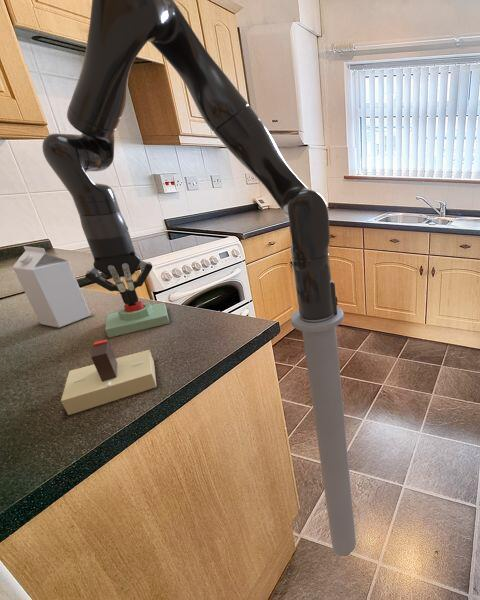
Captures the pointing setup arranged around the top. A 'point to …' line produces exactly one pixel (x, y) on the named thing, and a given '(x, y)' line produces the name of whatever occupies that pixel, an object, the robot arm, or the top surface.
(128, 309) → the button
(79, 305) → the milk carton
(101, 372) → the brown rectangular block
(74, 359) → the top surface
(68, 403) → the panel
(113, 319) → the button block
